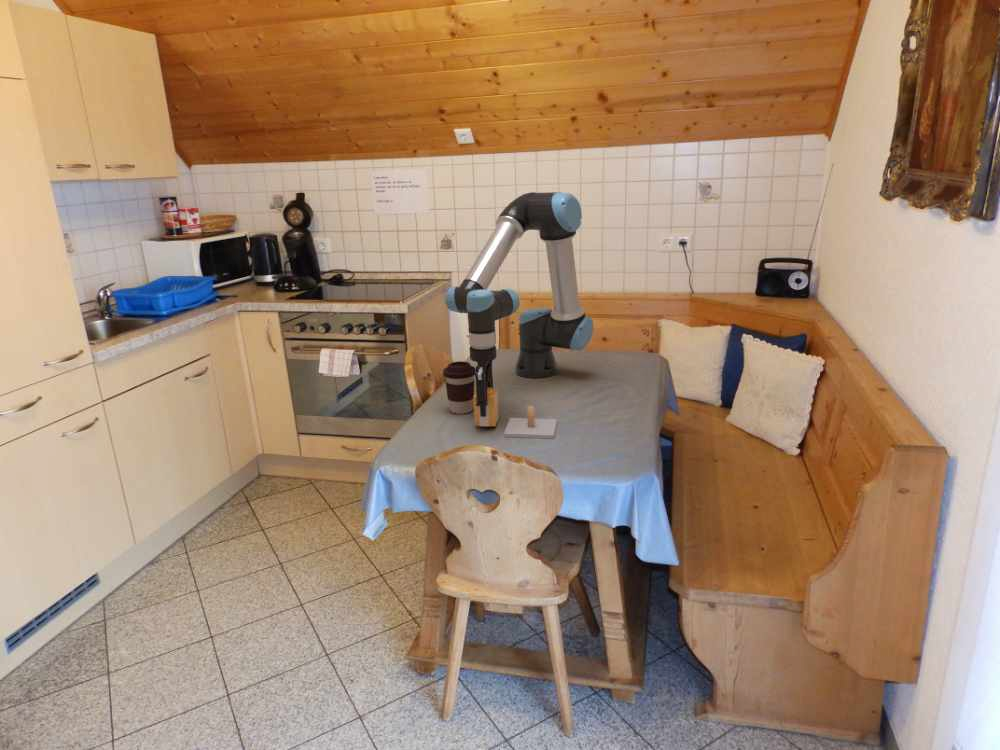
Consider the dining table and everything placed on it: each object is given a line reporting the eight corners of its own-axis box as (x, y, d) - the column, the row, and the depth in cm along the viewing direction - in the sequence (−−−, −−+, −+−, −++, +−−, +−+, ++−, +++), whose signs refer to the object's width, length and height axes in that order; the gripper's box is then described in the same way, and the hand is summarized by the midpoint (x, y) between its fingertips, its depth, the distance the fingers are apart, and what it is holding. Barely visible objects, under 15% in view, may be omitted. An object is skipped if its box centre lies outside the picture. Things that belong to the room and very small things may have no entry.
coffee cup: (453, 418, 204) (450, 371, 200) (440, 408, 213) (437, 363, 208) (482, 412, 208) (480, 365, 204) (469, 402, 217) (466, 357, 212)
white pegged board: (510, 420, 201) (509, 398, 199) (557, 422, 198) (557, 400, 196) (503, 436, 190) (503, 413, 187) (553, 438, 187) (553, 415, 185)
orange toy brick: (478, 417, 201) (476, 385, 198) (498, 418, 200) (497, 385, 197) (474, 425, 195) (472, 392, 192) (495, 426, 194) (493, 393, 191)
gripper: (476, 336, 200) (480, 408, 207) (462, 355, 182) (467, 434, 189) (501, 336, 198) (504, 409, 206) (489, 355, 181) (493, 434, 188)
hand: (486, 421), depth 198 cm, fingers closed on orange toy brick, 6 cm apart
